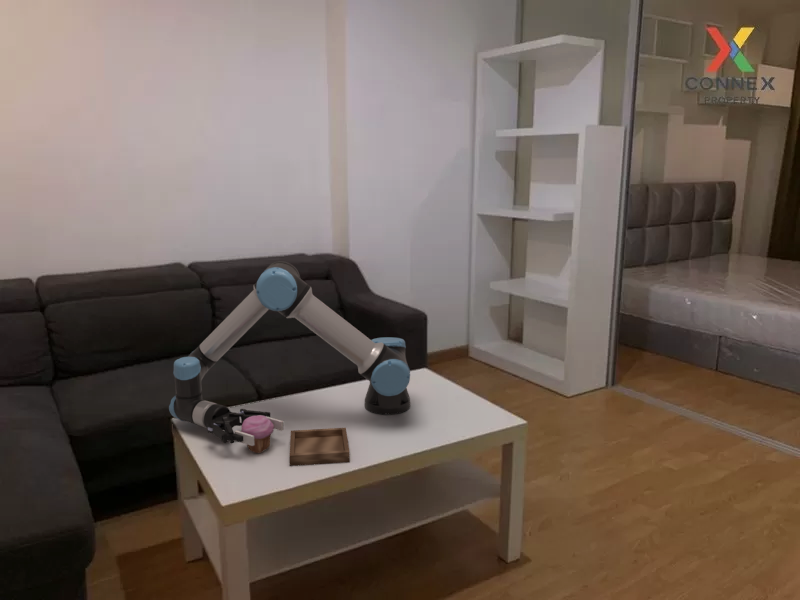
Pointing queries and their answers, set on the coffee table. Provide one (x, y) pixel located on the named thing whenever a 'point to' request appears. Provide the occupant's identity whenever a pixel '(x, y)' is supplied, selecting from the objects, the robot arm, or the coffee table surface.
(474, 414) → the coffee table surface
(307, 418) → the coffee table surface
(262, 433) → the cupcake
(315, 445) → the serving tray
